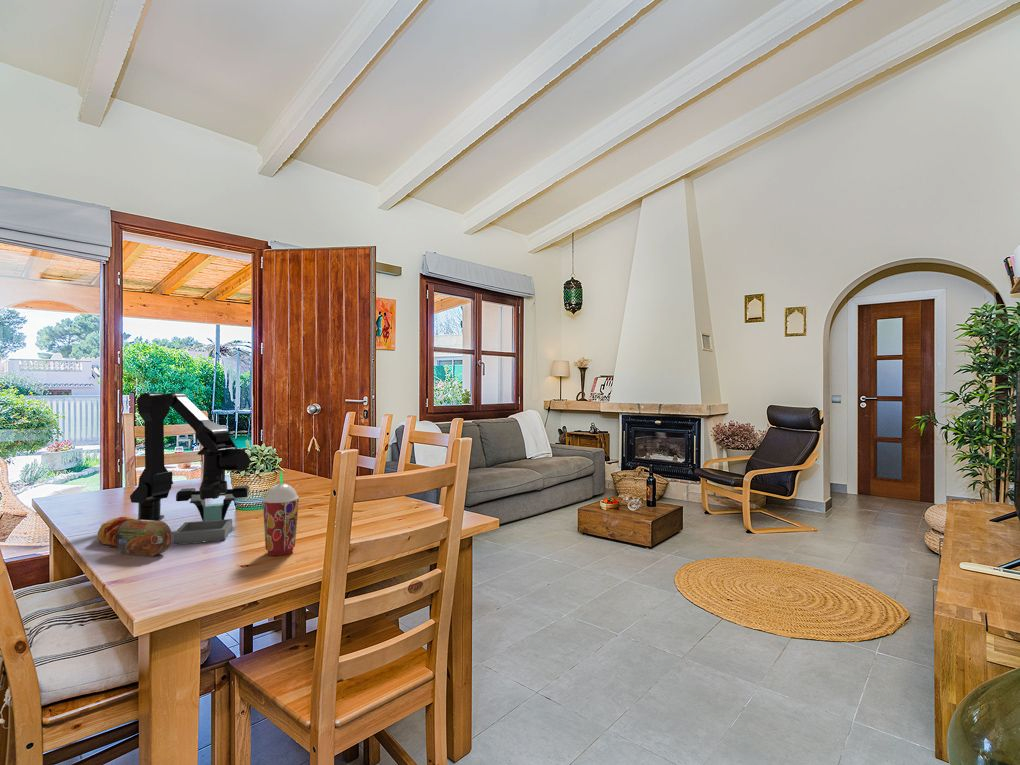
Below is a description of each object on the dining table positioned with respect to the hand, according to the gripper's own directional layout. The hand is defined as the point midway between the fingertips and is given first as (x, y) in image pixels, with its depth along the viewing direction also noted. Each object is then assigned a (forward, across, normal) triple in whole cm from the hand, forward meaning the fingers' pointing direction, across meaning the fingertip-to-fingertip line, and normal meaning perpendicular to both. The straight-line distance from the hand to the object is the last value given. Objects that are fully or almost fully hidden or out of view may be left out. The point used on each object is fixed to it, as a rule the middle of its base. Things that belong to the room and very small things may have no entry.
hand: (213, 521), depth 156 cm
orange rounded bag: (+1, -11, -25) cm, 27 cm away
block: (+1, 0, 0) cm, 1 cm away
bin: (+1, 0, -13) cm, 13 cm away
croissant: (+2, -20, -9) cm, 22 cm away
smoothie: (+1, +21, -35) cm, 41 cm away
